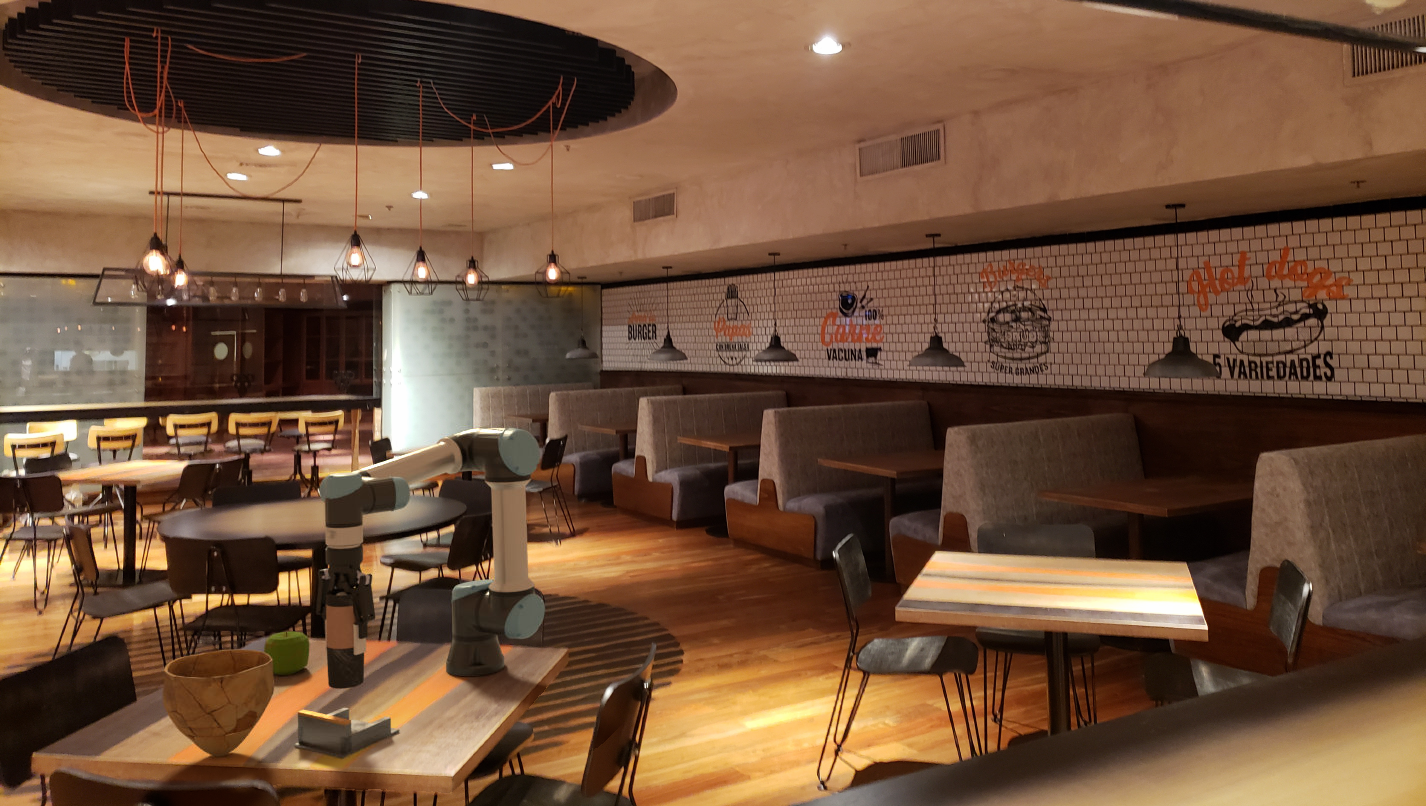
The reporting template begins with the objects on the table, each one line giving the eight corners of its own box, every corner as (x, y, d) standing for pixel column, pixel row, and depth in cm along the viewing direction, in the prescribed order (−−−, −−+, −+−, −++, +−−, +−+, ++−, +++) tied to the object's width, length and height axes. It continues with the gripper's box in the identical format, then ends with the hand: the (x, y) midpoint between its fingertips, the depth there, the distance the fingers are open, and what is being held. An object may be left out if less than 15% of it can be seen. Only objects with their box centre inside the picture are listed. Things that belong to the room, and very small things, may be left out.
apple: (318, 669, 259) (317, 628, 259) (281, 680, 250) (280, 638, 250) (292, 662, 265) (292, 622, 265) (256, 673, 256) (255, 632, 256)
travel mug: (372, 679, 213) (371, 588, 212) (348, 690, 205) (347, 596, 205) (343, 676, 215) (342, 586, 214) (319, 687, 208) (317, 594, 207)
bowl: (219, 732, 215) (217, 642, 214) (296, 742, 209) (294, 650, 209) (139, 769, 195) (136, 671, 195) (221, 782, 190) (219, 680, 189)
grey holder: (353, 721, 221) (352, 690, 221) (399, 732, 215) (398, 700, 215) (294, 746, 207) (293, 713, 207) (342, 758, 201) (341, 724, 200)
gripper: (296, 544, 210) (297, 648, 211) (366, 552, 201) (367, 661, 202) (324, 538, 217) (325, 640, 218) (393, 546, 208) (394, 652, 209)
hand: (345, 650), depth 210 cm, fingers closed on travel mug, 8 cm apart
